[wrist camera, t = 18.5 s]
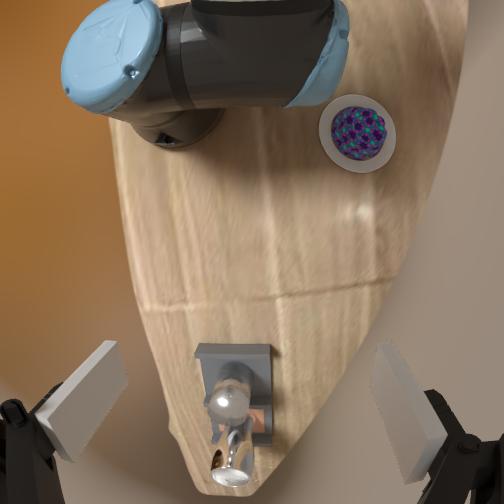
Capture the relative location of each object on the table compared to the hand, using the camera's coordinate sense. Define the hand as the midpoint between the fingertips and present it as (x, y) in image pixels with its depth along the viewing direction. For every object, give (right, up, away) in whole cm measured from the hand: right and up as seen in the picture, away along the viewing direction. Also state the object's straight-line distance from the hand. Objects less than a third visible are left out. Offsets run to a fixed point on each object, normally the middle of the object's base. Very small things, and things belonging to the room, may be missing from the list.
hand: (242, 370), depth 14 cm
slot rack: (-2, -21, +38) cm, 43 cm away
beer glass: (-2, -26, +38) cm, 46 cm away
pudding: (+16, +23, +26) cm, 39 cm away
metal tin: (-2, -16, +36) cm, 39 cm away
